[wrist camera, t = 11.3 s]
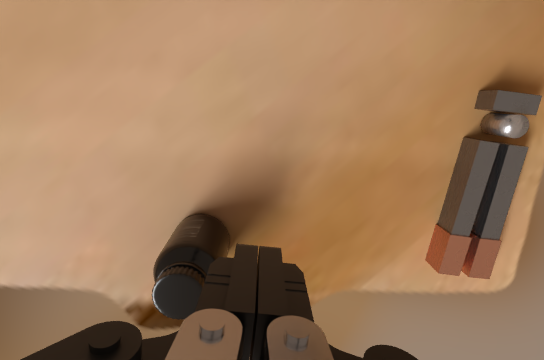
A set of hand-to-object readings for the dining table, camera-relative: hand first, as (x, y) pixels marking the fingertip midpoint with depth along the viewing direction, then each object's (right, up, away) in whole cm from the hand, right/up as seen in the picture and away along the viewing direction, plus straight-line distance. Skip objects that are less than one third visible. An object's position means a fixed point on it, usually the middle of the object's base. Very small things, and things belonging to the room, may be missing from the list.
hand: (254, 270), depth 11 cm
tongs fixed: (+25, +3, +28) cm, 38 cm away
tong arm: (+23, 0, +28) cm, 36 cm away
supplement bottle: (-8, -4, +29) cm, 30 cm away
